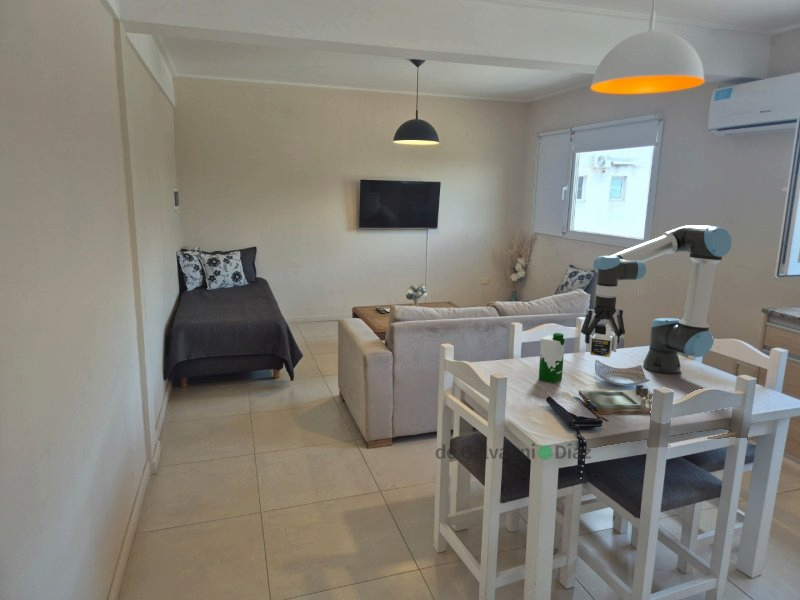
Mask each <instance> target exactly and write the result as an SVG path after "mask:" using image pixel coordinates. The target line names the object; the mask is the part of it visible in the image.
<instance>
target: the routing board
mask: <svg viewBox="0 0 800 600" xmlns="http://www.w3.org/2000/svg"><path fill="white" fill-rule="evenodd" d="M653 393H654V392H652V391H651V390H650V389H649V388H648V387H644V384H636V385H635V389H623V390H621V389H618V390H615V389H612V390H610V389H609V390H607V389H606V390H604V389H603V390H599V389H598V390H589V389H588V390H579V391H578V394H579V396H581V397H582V398H583V399H584V400H585V399H586V400H590V401H591V402H592V403H593V404H594V405H595V407H596V409H597V410H598V411H597V410H596V409H595V410H596V411H597V412H598V413H599V414H600V415H605V414H606V415H625V414H626V415H627V414H629V415H634V414H635V415H637V414H638V415H639V414H646V415H648V414H650V411H651V404H652V396H653ZM586 400H585V401H586Z"/></svg>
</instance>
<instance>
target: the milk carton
mask: <svg viewBox="0 0 800 600" xmlns="http://www.w3.org/2000/svg"><path fill="white" fill-rule="evenodd" d="M566 340H567V338H566V337H565V336H564V334H563V333H561V332H555V333H553V335H549V334H548V335H546V336H544V337H541V338H540V353H539V367H538V368H539V370H538V380H539V381H542V382H546V383H550V384H556V383H558V382H560V381H562V380H563V369H564V356H565V347H566Z"/></svg>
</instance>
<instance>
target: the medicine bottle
mask: <svg viewBox="0 0 800 600" xmlns="http://www.w3.org/2000/svg"><path fill="white" fill-rule="evenodd" d="M612 343H613V335H612V326H611V324H608V323H598V324H597V325H596V327H595V329H594V334H593V336H592V345H591V352H589V354H590V355H591V356H597V357H603V358H610V356H611V355H612V352H613V351H612Z"/></svg>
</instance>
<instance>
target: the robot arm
mask: <svg viewBox="0 0 800 600" xmlns="http://www.w3.org/2000/svg"><path fill="white" fill-rule="evenodd" d="M732 244H733V243H732V236H731V233H729V230H727V229H726V228H725V227H722V226H716V225H703V224H700V225H699V224H687V225H683V226H679V227H676V228H674V229H670V230H668V231H666V232H663V233H662V234H660V236H659V237H657V238H653V239H651V240H648V241H645V242H643V243H640V244H637V245H635V246H632V247H629V248H627V249H624V250H621V251H619V252H616V253H614V254H611V255H600V256H597V257H596V258H595V259H594V261H593V263H592V267H593V270H594V271H595V273H597V275H596V276H597V278H596V292H595V294H596V296H595V301H594V302H595V303H594V308H592V309H590V308H587V309H586V316H585V317H584V321H583V324H582V326H581V330H580V333H581V334H583V335H585V336H584V342H585V344H586V350H585V351H586V352H587V353H590V352H591V345H592V337H593V336H592V334H593V332H594V331H595V327H596V325H597V324H599V322H601V320H602V321H603V320H607V321H609V325H610V326H611V329H612V331H613V333H614V334H612V336H613V343H612V352H613V353H617V348H618V344H620V337H622V335H625V334H626V329H625V325H624V324H625V323H624V318H623V314H624V310H623V309H620V308H616V305H617V295H618V284H619V283H618V282H619V281H631V280H632V281H635V280H636V281H637V280H641V279H643V278H644V277H645V275H646V274H647V266H646V264H645V262H648V261H650V260H653V259H655V258H657V257H660V256H663V255H665V254H669V255H673V254H675V253H681V252H682V253H683V252H684V253H685V252H686V253H689V259H690V260H691V261H692V265H691V271H690V277H689V282H688V287H687V293H686V298H685V304H684V310H683V311H684V312H683V316H682V318H681V319H680V318H676V317H675V318H674V317H660V318H655V319H653V320H652V323H651V327H650V328H651V329H650V337H649V338H650V339H649V346H648V347H649V348H648V351H647V354H646V356H645V358H644V360H643V363H642V367H643V368H644V369H646V370H648V371H650V372H655V373H660V374H668V373H674V374H678V372H679V373H680V372H681V367H682V366H681V361H680V357H679V353H681V354H683V355H686V356H687V357H693V358H701V357H704V356H705V355H707V354H708V353H709V352H710V350H711V349H712V348H713V345H714V336H713V334H712V333H711V332H710V330H709V329H710V325H709V324H708V322H707V318H708V311H709V309H710V308H709V307H710V302H711V301H710V300H711V297H712V290H713V286H714V284H713V283H714V280H715V273H716V268H717V264H719V263H720V262H721V261H722V260H723V257H724V256H726V255H727V254H729V252H730V251H731V248H732ZM614 314H615V315H616V319H617V321H615V318H614ZM593 315H594V317H593ZM592 318H593V320H592ZM591 320H592V321H591ZM616 322H617V324H616Z"/></svg>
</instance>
